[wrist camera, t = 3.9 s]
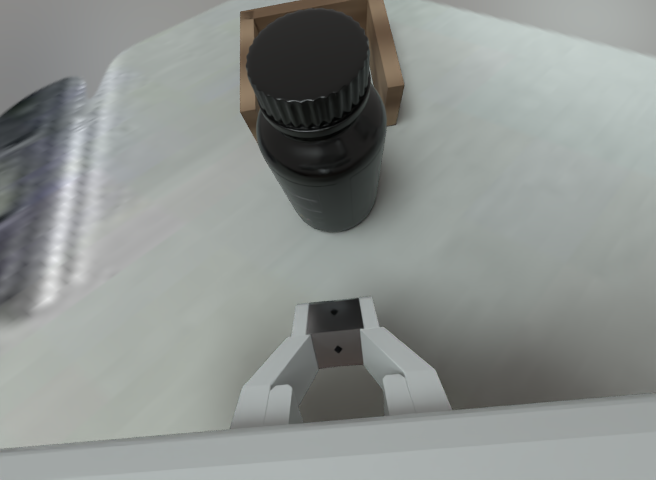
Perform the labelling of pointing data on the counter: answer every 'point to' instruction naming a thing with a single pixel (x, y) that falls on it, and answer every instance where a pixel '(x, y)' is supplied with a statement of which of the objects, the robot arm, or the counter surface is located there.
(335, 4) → the walnut holder
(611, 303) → the counter surface
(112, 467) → the robot arm
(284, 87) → the supplement bottle
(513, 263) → the counter surface
